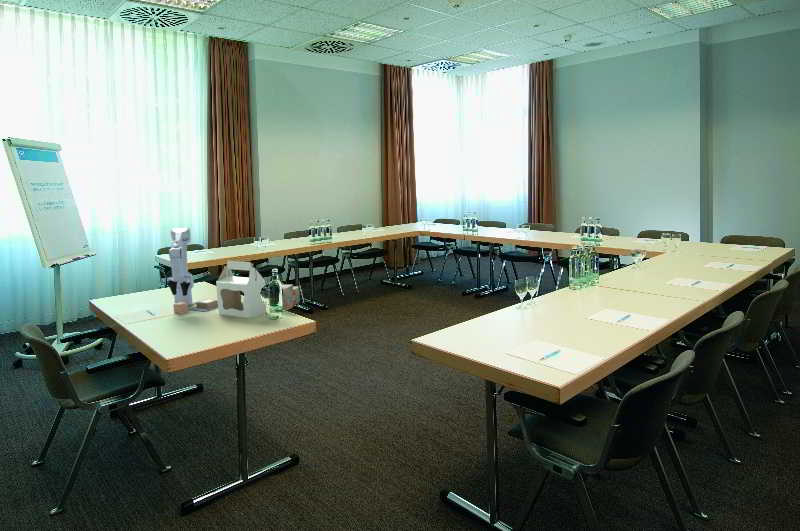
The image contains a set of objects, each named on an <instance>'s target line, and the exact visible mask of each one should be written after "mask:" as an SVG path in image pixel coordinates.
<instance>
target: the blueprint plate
mask: <svg viewBox="0 0 800 531" xmlns="http://www.w3.org/2000/svg"><path fill="white" fill-rule="evenodd" d="M214 309H218V299H210V298H209V299H208V298H207V299H203V300H199V301H196V303H195V306H193V307H190V308H188V311H193V312H202V313H203V312H204V313H205V312H209V311H212V310H214Z"/></svg>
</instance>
